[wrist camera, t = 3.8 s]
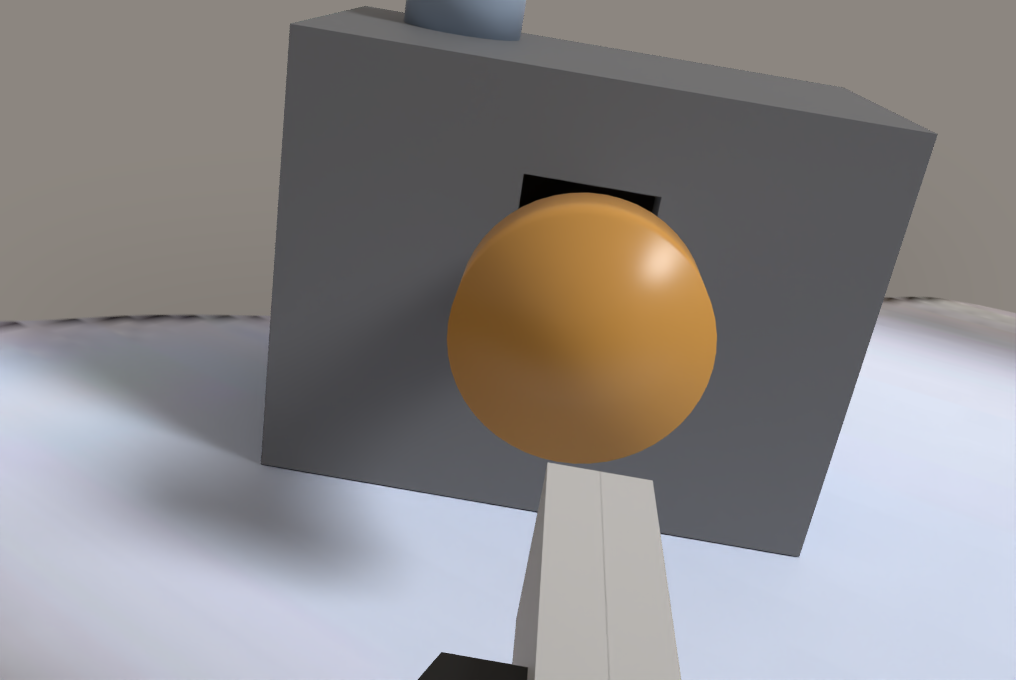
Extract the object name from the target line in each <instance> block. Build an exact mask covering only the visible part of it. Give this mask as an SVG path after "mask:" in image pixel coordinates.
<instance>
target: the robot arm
mask: <svg viewBox="0 0 1016 680" xmlns="http://www.w3.org/2000/svg"><path fill="white" fill-rule="evenodd" d="M418 680H681V675H680V668H679V661H678V654H677V647H676V640H675V633H674V626H673V619H672V612H671V605H670V598H669V591H668V584H667V577H666V570H665V563H664V556H663V549H662V542H661V535H660V528H659V521H658V514H657V507H656V500H655V493H654V486H653V481H652V480H647V479H641V478H635V477H629V476H624V475H618V474H612V473H606V472H600V471H595V470H589V469H583V468H577V467H572V466H566V465H560V464H554V463H549V462H548V463H547V468H546V473H545V478H544V483H543V488H542V493H541V498H540V503H539V508H538V513H537V518H536V523H535V528H534V533H533V538H532V543H531V548H530V553H529V558H528V563H527V568H526V573H525V578H524V583H523V588H522V593H521V598H520V603H519V608H518V613H517V618H516V629H515V640H514V651H513V662H512V664H506V663H501V662H495V661H489V660H483V659H478V658H472V657H466V656H460V655H455V654H449V653H443V652H441V653H440V655H439V656H438V657H437V658H436V659H435V660H434V661H433V663H432V664H431V665H430V666H429V667H428V668H427V670H426V671H425V672H424V673H423V674H422V675H421V676H420V678H419V679H418Z"/></svg>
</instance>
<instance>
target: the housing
mask: <svg viewBox="0 0 1016 680" xmlns="http://www.w3.org/2000/svg"><path fill="white" fill-rule="evenodd" d="M404 16H405V13H403V12H397V11H391V10H385V9H380V8H374V7H368V6H364V7H359V8H355V9H351V10H346V11H342V12H338V13H334V14H329V15H325V16H321V17H317V18H312V19H308V20H304V21H300V22H295V23H291V24H290V34H289V50H288V64H287V79H286V95H285V109H284V125H283V140H282V156H281V170H280V185H279V200H278V215H277V230H276V245H275V260H274V276H273V291H272V306H271V320H270V336H269V351H268V366H267V381H266V396H265V411H264V426H263V441H262V456H261V464H264V465H270V466H276V467H282V468H287V469H293V470H299V471H305V472H311V473H316V474H322V475H328V476H334V477H340V478H345V479H351V480H357V481H363V482H368V483H374V484H380V485H386V486H392V487H397V488H403V489H409V490H415V491H421V492H426V493H432V494H438V495H444V496H450V497H455V498H461V499H467V500H473V501H479V502H484V503H490V504H496V505H502V506H508V507H513V508H519V509H525V510H531V511H536V512H538V508H539V503H540V498H541V493H542V488H543V483H544V478H545V473H546V468H547V463H548V462H549V463H554V464H560V465H566V466H572V467H577V468H583V469H589V470H595V471H600V472H606V473H612V474H618V475H624V476H629V477H635V478H641V479H647V480H652V481H653V486H654V493H655V500H656V507H657V514H658V521H659V528H660V533H664V534H670V535H676V536H681V537H687V538H693V539H699V540H704V541H710V542H716V543H722V544H728V545H733V546H739V547H745V548H751V549H757V550H762V551H768V552H774V553H780V554H786V555H791V556H797V557H799V556H800V553H801V550H802V546H803V543H804V540H805V537H806V534H807V531H808V528H809V525H810V522H811V519H812V516H813V513H814V510H815V507H816V504H817V501H818V498H819V495H820V492H821V489H822V485H823V482H824V479H825V476H826V473H827V470H828V467H829V464H830V461H831V458H832V455H833V452H834V449H835V446H836V443H837V440H838V437H839V434H840V431H841V427H842V424H843V421H844V418H845V415H846V412H847V409H848V406H849V403H850V400H851V397H852V394H853V391H854V388H855V385H856V382H857V379H858V376H859V373H860V370H861V366H862V363H863V360H864V357H865V354H866V351H867V348H868V345H869V342H870V339H871V336H872V333H873V330H874V327H875V324H876V321H877V318H878V315H879V312H880V308H881V305H882V302H883V299H884V296H885V293H886V290H887V287H888V284H889V281H890V278H891V275H892V272H893V269H894V266H895V263H896V260H897V256H898V254H899V251H900V247H901V244H902V241H903V238H904V235H905V232H906V229H907V226H908V223H909V220H910V217H911V214H912V211H913V207H914V205H915V201H916V199H917V196H918V192H919V189H920V186H921V183H922V180H923V177H924V174H925V171H926V168H927V165H928V162H929V159H930V156H931V153H932V150H933V147H934V143H935V141H936V137H937V134H936V133H934V132H932V131H930V130H928V129H926V128H924V127H922V126H920V125H918V124H916V123H914V122H912V121H910V120H908V119H906V118H904V117H902V116H900V115H898V114H896V113H894V112H892V111H889V110H888V109H886V108H884V107H882V106H880V105H878V104H876V103H874V102H871V101H870V100H867V99H865V98H863V97H861V96H859V95H857V94H855V93H853V92H851V91H849V90H847V89H845V88H843V87H837V86H831V85H825V84H819V83H813V82H808V81H801V80H796V79H790V78H784V77H778V76H772V75H766V74H760V73H755V72H749V71H743V70H737V69H731V68H726V67H720V66H714V65H708V64H702V63H696V62H690V61H684V60H678V59H673V58H667V57H661V56H655V55H649V54H643V53H637V52H632V51H626V50H620V49H614V48H608V47H602V46H597V45H590V44H584V43H579V42H573V41H567V40H561V39H556V38H550V37H543V36H538V35H532V34H526V33H521V36H520V40H518V41H504V40H492V39H483V38H476V37H469V36H462V35H456V34H451V33H445V32H440V31H435V30H430V29H426V28H422V27H418V26H414V25H411V24H408V23H406V22H404ZM567 193H596V194H605V195H609V196H613V197H618V198H621V199H624V200H627V201H629V202H632V203H634V204H637V205H639V206H641V207H642V208H644V209H646V210H648V211H650V212H652V213H653V214H654V215H656V216H657V217H658V218H660V219H661V220H663V221H664V222H665V223H666V224H667V225H668V226H669V227H670V228H671V229H672V230H673V231H674V232H675V233H676V234H677V235H678V236H679V237H680V239H681V240H682V241H683V242H684V244H685V245H686V246H687V248H688V250H689V251H690V253H691V255H692V257H693V258H694V260H695V263H696V265H697V268H698V270H699V272H700V275H701V278H702V280H703V283H704V285H705V288H706V291H707V293H708V296H709V298H710V301H711V304H712V308H713V312H714V316H715V321H716V331H717V346H716V356H715V361H714V367H713V370H712V373H711V376H710V379H709V382H708V385H707V387H706V389H705V391H704V393H703V395H702V397H701V399H700V400H699V402H698V403H697V404H696V406H695V407H694V409H693V410H692V412H691V413H690V414H689V415H688V416H687V417H686V419H685V420H684V421H683V422H682V423H681V424H680V425H679V426H678V427H677V428H676V429H674V430H673V431H672V432H671V433H670V434H669V435H667V436H666V437H664V438H663V439H661V440H660V441H658V442H657V443H655V444H654V445H652V446H650V447H648V448H646V449H644V450H642V451H640V452H638V453H635V454H632V455H630V456H627V457H624V458H620V459H616V460H612V461H608V462H599V463H591V464H573V463H564V462H556V461H552V460H548V459H543V458H540V457H537V456H534V455H531V454H528V453H526V452H524V451H522V450H520V449H518V448H516V447H514V446H512V445H510V444H508V443H507V442H505V441H504V440H502V439H501V438H499V437H498V436H496V435H495V434H494V433H493V432H492V431H490V430H489V429H488V428H487V427H486V426H484V424H483V423H482V422H481V421H480V420H479V419H478V418H477V417H476V416H475V415H474V413H473V412H472V411H471V409H470V408H469V406H468V405H467V404H466V402H465V401H464V399H463V397H462V395H461V393H460V391H459V389H458V387H457V385H456V382H455V380H454V377H453V374H452V371H451V367H450V362H449V357H448V348H447V330H448V321H449V316H450V311H451V307H452V304H453V301H454V298H455V296H456V293H457V290H458V287H459V285H460V282H461V279H462V276H463V274H464V271H465V268H466V265H467V263H468V261H469V259H470V258H471V256H472V254H473V252H474V250H475V249H476V247H477V246H478V245H479V243H480V242H481V240H482V239H483V238H484V237H485V235H486V234H487V233H488V232H489V231H490V230H491V229H492V228H493V227H494V226H495V225H496V224H498V223H499V222H500V221H501V220H503V219H504V218H505V217H506V216H508V215H509V214H511V213H513V212H514V211H516V210H518V209H519V208H521V207H523V206H525V205H527V204H530V203H532V202H534V201H537V200H540V199H543V198H547V197H550V196H554V195H560V194H567Z"/></svg>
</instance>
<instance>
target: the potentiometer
mask: <svg viewBox="0 0 1016 680" xmlns="http://www.w3.org/2000/svg"><path fill="white" fill-rule="evenodd" d="M525 4H526V0H406V7H405V16H404V22H406V23H408V24H411V25H414V26H418V27H422V28H426V29H430V30H435V31H440V32H445V33H451V34H456V35H462V36H469V37H476V38H483V39H492V40H504V41H518V40H520V36H521V30H522V23H523V17H524V11H525Z"/></svg>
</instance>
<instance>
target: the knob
mask: <svg viewBox="0 0 1016 680" xmlns="http://www.w3.org/2000/svg"><path fill="white" fill-rule="evenodd" d="M716 346H717V331H716V321H715V316H714V312H713V308H712V304H711V301H710V298H709V296H708V293H707V291H706V288H705V285H704V283H703V280H702V278H701V275H700V272H699V270H698V268H697V265H696V263H695V260H694V258H693V257H692V255H691V253H690V251H689V250H688V248H687V246H686V245H685V244H684V242H683V241H682V240H681V239H680V237H679V236H678V235H677V234H676V233H675V232H674V231H673V230H672V229H671V228H670V227H669V226H668V225H667V224H666V223H665V222H664V221H663V220H661V219H660V218H658V217H657V216H656V215H654V214H653V213H652V212H650V211H648V210H646V209H644V208H642V207H641V206H639V205H637V204H634V203H632V202H629V201H627V200H624V199H621V198H618V197H613V196H609V195H605V194H596V193H567V194H560V195H554V196H550V197H547V198H543V199H540V200H537V201H534V202H532V203H530V204H527V205H525V206H523V207H521V208H519V209H518V210H516V211H514V212H513V213H511V214H509V215H508V216H506V217H505V218H504V219H503V220H501V221H500V222H499V223H498V224H496V225H495V226H494V227H493V228H492V229H491V230H490V231H489V232H488V233H487V234H486V235H485V237H484V238H483V239H482V240H481V242H480V243H479V245H478V246H477V247H476V249H475V250H474V252H473V254H472V256H471V258H470V259H469V261H468V263H467V265H466V268H465V271H464V274H463V276H462V279H461V282H460V285H459V287H458V290H457V293H456V296H455V298H454V301H453V304H452V307H451V311H450V316H449V321H448V330H447V348H448V357H449V362H450V367H451V371H452V374H453V377H454V380H455V382H456V385H457V387H458V389H459V391H460V393H461V395H462V397H463V399H464V401H465V402H466V404H467V405H468V406H469V408H470V409H471V411H472V412H473V413H474V415H475V416H476V417H477V418H478V419H479V420H480V421H481V422H482V423H483V424H484V426H486V427H487V428H488V429H489V430H490V431H492V432H493V433H494V434H495V435H496V436H498V437H499V438H501V439H502V440H504V441H505V442H507V443H508V444H510V445H512V446H514V447H516V448H518V449H520V450H522V451H524V452H526V453H528V454H531V455H534V456H537V457H540V458H543V459H548V460H552V461H556V462H564V463H573V464H591V463H599V462H608V461H612V460H616V459H620V458H624V457H627V456H630V455H632V454H635V453H638V452H640V451H642V450H644V449H646V448H648V447H650V446H652V445H654V444H655V443H657V442H658V441H660V440H661V439H663V438H664V437H666V436H667V435H669V434H670V433H671V432H672V431H673V430H674V429H676V428H677V427H678V426H679V425H680V424H681V423H682V422H683V421H684V420H685V419H686V417H687V416H688V415H689V414H690V413H691V412H692V410H693V409H694V407H695V406H696V404H697V403H698V402H699V400H700V399H701V397H702V395H703V393H704V391H705V389H706V387H707V385H708V382H709V379H710V376H711V373H712V370H713V367H714V361H715V356H716Z"/></svg>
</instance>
